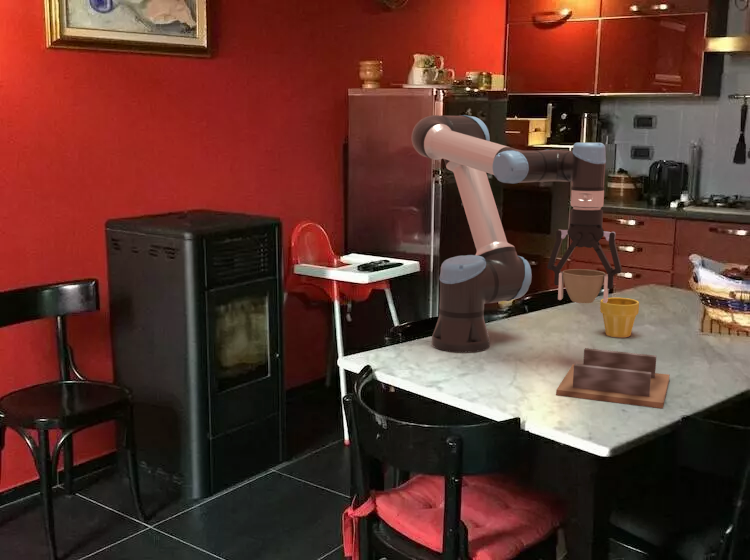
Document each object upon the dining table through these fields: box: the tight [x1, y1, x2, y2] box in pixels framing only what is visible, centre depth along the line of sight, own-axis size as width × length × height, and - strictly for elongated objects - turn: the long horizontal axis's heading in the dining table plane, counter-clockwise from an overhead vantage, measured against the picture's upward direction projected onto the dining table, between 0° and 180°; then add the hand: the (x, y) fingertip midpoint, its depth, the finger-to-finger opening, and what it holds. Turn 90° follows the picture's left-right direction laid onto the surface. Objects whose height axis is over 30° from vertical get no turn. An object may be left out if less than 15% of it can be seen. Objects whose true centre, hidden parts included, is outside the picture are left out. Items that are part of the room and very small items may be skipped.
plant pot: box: [599, 297, 640, 338], centre depth 238 cm, size 10×10×10 cm
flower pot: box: [562, 268, 606, 304], centre depth 206 cm, size 10×10×7 cm
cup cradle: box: [555, 347, 670, 409], centre depth 191 cm, size 22×22×6 cm
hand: (582, 300), depth 207 cm, fingers closed on flower pot, 10 cm apart
